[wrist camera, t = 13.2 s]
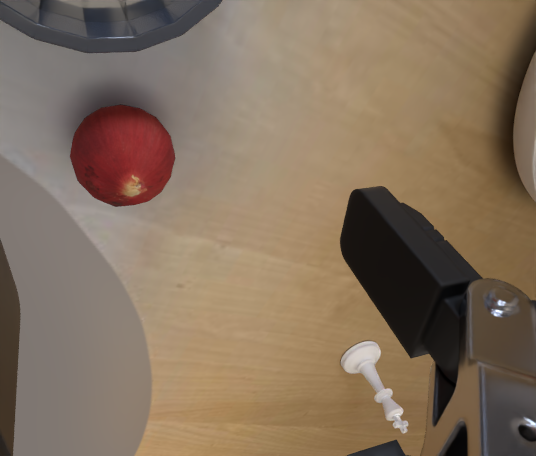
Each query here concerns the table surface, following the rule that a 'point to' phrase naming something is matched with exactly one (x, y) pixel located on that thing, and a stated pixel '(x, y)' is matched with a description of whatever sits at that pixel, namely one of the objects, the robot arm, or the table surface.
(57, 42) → the bowl
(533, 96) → the bowl
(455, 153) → the table surface
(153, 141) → the onion
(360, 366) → the chess piece
